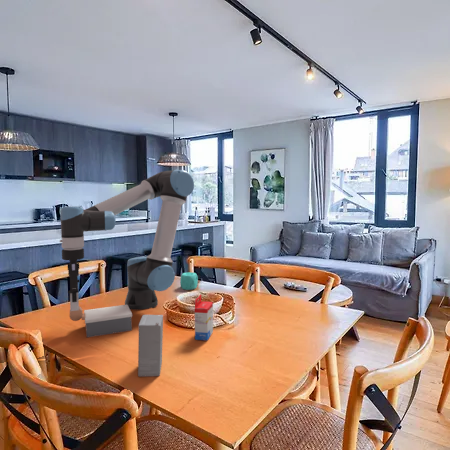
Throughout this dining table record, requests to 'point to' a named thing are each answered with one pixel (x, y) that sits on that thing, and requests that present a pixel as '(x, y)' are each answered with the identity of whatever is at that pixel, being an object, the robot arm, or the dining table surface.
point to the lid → (101, 314)
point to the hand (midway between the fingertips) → (74, 305)
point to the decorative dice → (189, 281)
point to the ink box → (203, 319)
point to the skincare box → (150, 345)
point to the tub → (108, 327)
